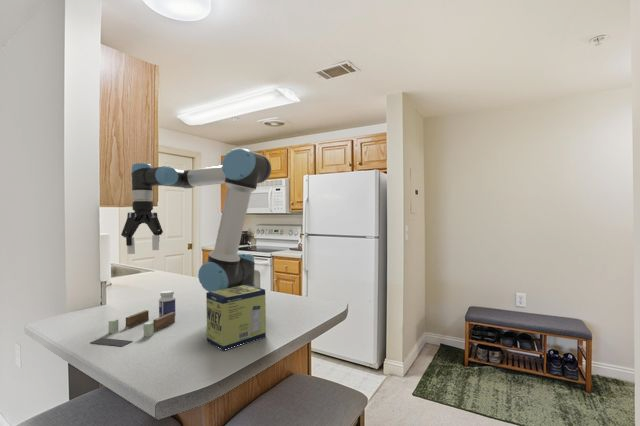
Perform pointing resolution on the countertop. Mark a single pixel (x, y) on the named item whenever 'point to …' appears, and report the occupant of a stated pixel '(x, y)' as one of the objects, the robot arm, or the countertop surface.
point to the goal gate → (147, 327)
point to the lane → (144, 316)
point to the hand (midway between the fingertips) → (144, 252)
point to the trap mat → (111, 342)
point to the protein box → (235, 316)
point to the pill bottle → (166, 303)
